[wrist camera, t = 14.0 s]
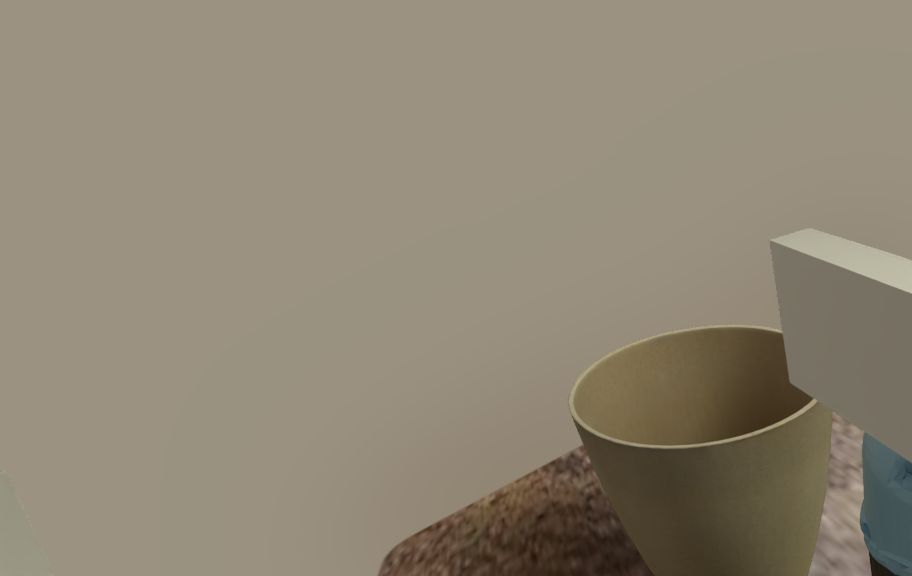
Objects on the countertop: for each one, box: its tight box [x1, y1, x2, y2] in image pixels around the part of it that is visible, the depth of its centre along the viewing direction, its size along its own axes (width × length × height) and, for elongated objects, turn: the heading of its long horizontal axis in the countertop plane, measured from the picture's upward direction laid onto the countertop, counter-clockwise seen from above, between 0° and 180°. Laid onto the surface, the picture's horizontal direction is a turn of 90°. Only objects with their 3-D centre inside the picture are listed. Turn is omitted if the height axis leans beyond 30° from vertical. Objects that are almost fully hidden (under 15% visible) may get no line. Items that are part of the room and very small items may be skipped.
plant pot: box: [568, 325, 832, 576], centre depth 50 cm, size 15×15×16 cm
